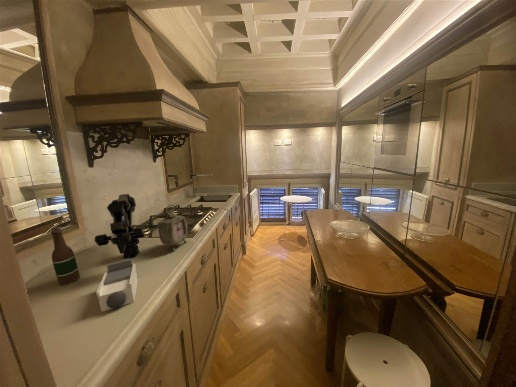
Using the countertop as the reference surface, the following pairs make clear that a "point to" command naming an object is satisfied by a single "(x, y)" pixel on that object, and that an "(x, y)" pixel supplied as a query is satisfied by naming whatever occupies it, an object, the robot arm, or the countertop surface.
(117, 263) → the door
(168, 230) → the tabletop clock
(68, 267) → the beer bottle
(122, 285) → the white open box
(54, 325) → the countertop surface
